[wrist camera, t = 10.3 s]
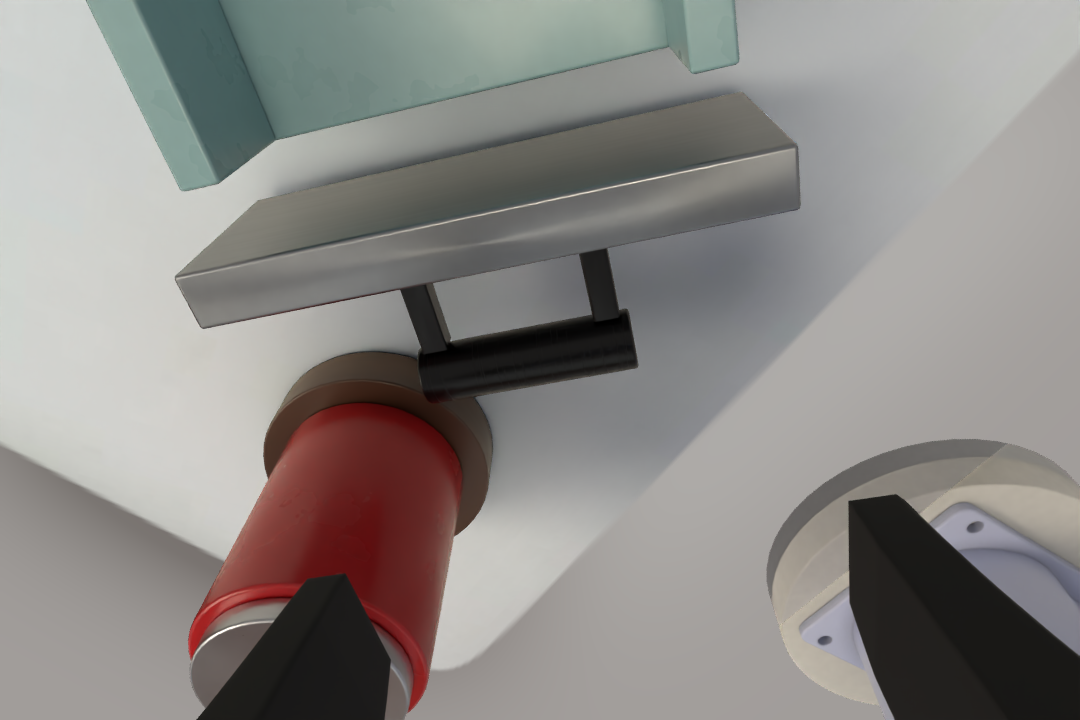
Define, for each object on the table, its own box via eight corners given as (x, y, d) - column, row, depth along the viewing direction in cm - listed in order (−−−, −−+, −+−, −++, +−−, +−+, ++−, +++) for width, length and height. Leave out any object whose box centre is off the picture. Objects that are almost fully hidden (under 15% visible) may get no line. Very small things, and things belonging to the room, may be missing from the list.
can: (495, 454, 21) (468, 673, 15) (414, 561, 23) (361, 786, 17) (327, 370, 19) (222, 573, 13) (259, 492, 22) (143, 711, 16)
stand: (533, 417, 22) (530, 448, 20) (431, 547, 25) (424, 582, 23) (331, 311, 20) (315, 338, 19) (249, 465, 23) (231, 497, 22)
